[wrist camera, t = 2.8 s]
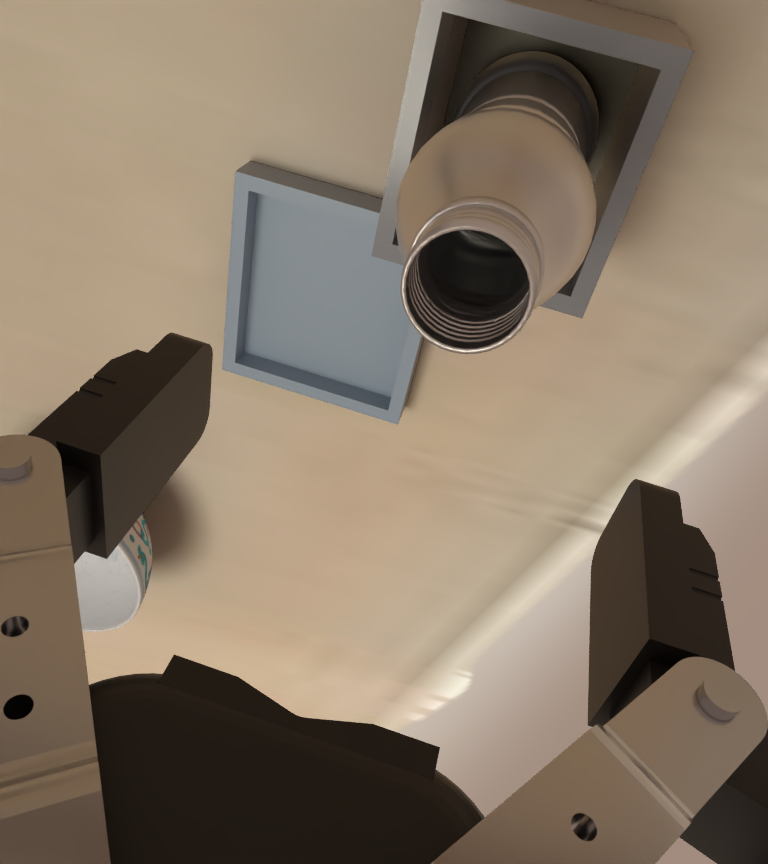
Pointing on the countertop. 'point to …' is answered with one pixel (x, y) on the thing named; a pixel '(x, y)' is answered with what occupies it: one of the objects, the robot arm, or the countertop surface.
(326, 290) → the tray
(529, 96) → the plastic bottle
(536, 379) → the countertop surface
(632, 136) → the holder
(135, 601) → the chinaware
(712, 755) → the robot arm
